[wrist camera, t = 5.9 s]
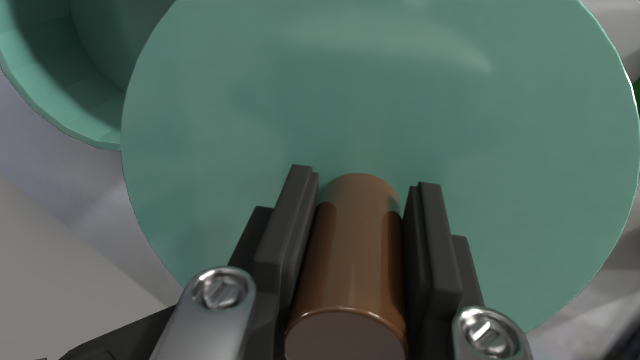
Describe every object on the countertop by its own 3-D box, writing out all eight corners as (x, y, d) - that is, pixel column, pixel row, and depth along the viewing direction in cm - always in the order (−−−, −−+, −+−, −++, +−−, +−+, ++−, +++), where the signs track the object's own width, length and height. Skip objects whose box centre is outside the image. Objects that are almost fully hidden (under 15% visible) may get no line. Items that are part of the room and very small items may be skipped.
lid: (100, -111, 10) (-205, -157, 5) (740, -50, 9) (1221, -26, 4) (163, 312, 17) (66, 475, 12) (522, 373, 16) (586, 580, 11)
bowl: (45, -95, 28) (-59, -104, 21) (246, -77, 27) (201, -80, 20) (86, 99, 34) (16, 137, 28) (247, 120, 33) (214, 164, 27)
